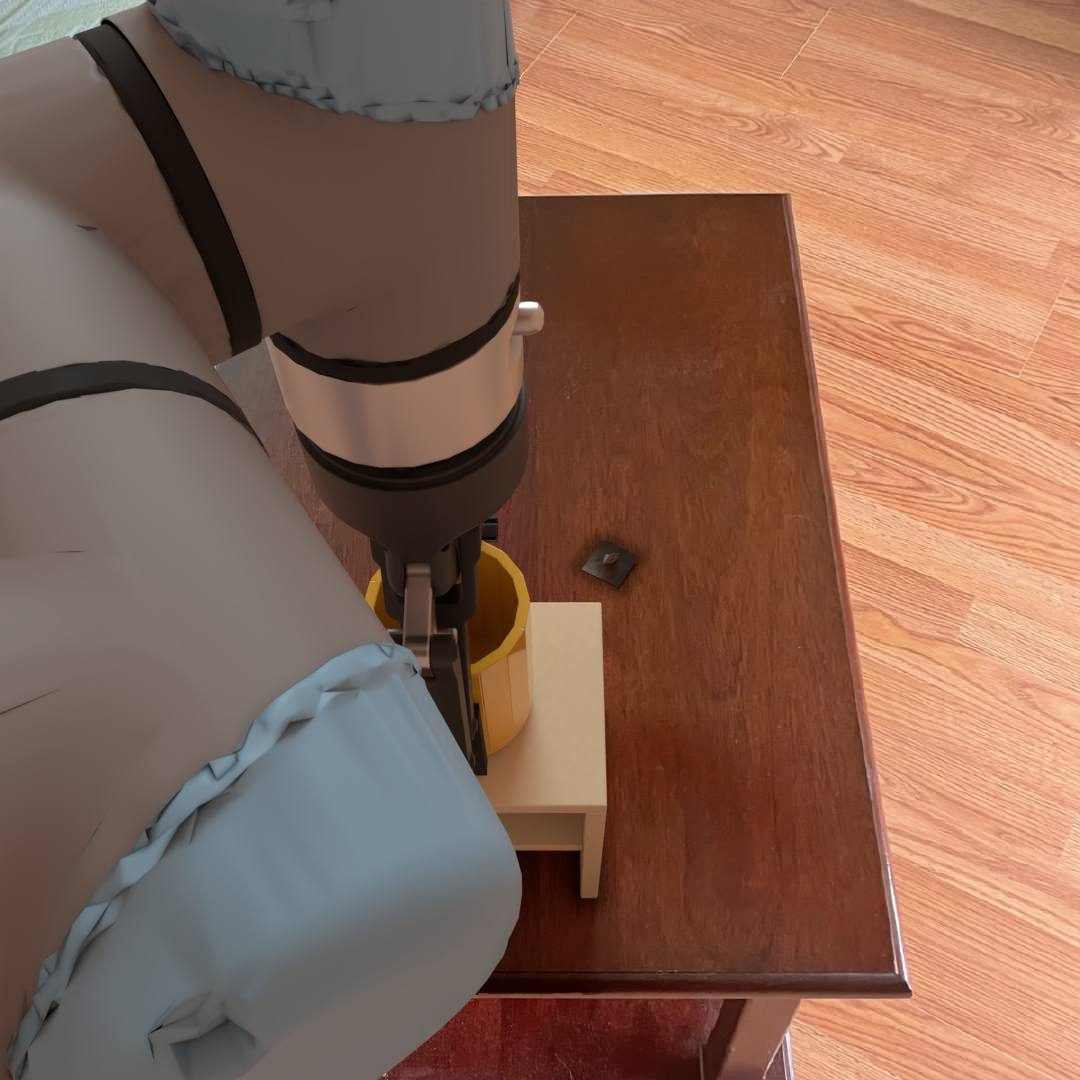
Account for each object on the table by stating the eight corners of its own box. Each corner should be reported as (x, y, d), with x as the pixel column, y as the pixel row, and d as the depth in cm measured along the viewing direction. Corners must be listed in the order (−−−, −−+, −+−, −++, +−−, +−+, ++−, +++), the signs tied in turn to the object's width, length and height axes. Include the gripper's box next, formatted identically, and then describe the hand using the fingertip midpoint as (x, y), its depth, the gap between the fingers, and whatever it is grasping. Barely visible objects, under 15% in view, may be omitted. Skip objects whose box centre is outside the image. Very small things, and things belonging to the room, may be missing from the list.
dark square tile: (618, 588, 77) (618, 580, 75) (581, 569, 77) (580, 561, 76) (638, 556, 78) (638, 548, 77) (602, 538, 79) (601, 530, 77)
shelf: (360, 897, 65) (308, 806, 52) (376, 724, 71) (333, 602, 58) (597, 898, 65) (607, 806, 52) (593, 724, 71) (601, 601, 58)
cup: (441, 790, 52) (421, 711, 44) (363, 680, 55) (332, 589, 47) (561, 707, 54) (561, 619, 46) (479, 607, 57) (468, 508, 49)
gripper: (521, 670, 29) (537, 899, 49) (529, 172, 40) (540, 522, 60) (240, 671, 30) (367, 899, 49) (324, 174, 40) (401, 522, 60)
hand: (462, 692), depth 54 cm, fingers closed on cup, 7 cm apart
